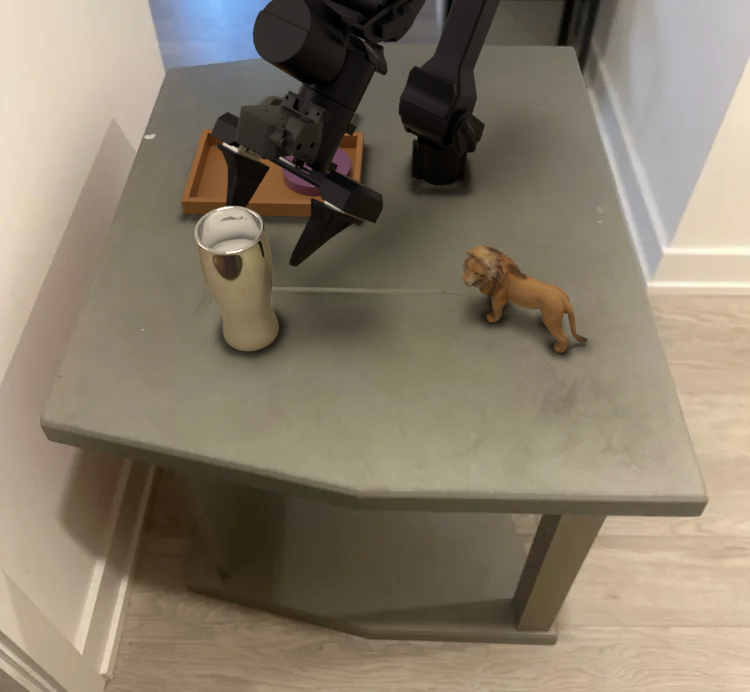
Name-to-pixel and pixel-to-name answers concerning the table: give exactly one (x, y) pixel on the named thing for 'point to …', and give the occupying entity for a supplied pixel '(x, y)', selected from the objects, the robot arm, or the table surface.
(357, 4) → the robot arm
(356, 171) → the tray
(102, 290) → the table surface
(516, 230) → the table surface
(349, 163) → the plum disc
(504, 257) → the lion figurine
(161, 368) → the table surface
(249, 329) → the beer glass
